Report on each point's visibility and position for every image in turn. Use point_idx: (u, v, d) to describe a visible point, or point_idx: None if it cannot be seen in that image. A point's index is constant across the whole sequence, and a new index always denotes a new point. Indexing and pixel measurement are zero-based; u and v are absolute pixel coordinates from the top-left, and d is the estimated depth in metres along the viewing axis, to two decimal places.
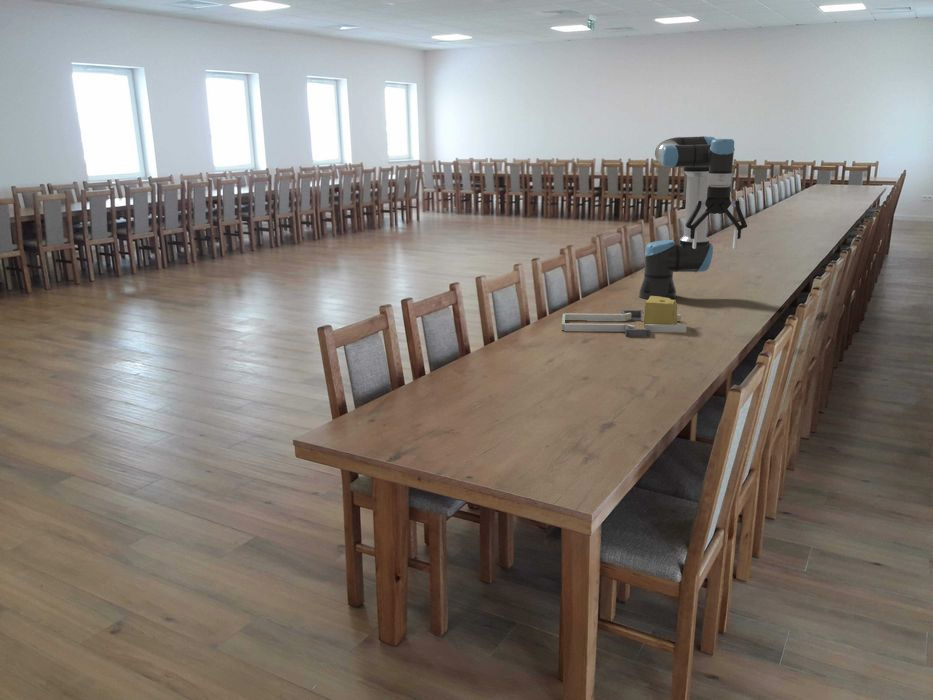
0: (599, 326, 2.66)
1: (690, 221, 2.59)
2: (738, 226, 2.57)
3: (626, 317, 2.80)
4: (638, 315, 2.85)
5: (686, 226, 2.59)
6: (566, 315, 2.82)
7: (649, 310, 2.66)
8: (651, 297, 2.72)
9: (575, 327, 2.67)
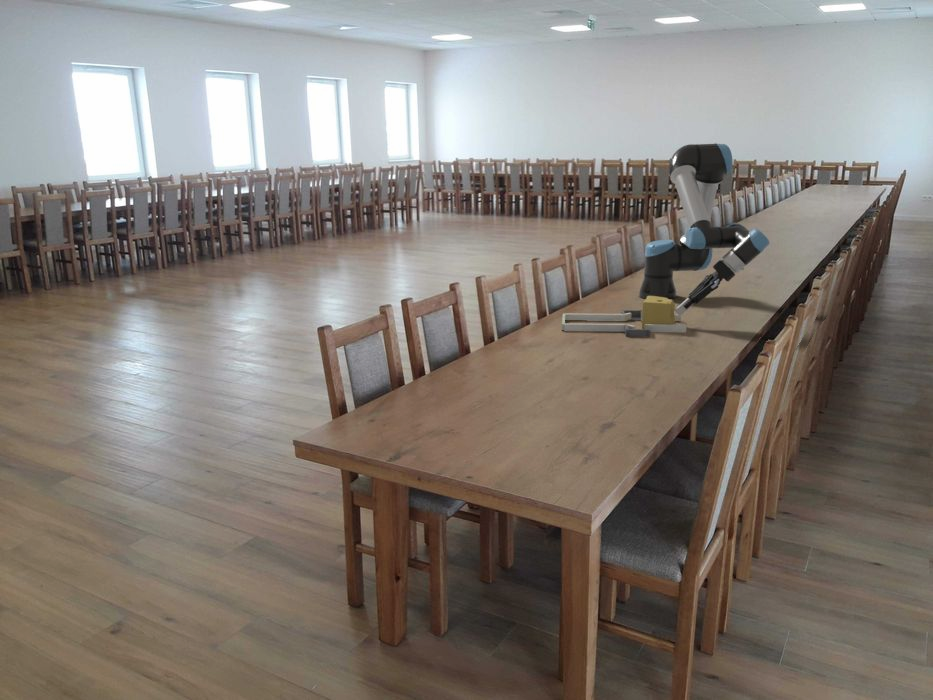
0: (599, 326, 2.66)
1: None
2: None
3: (626, 317, 2.80)
4: (638, 315, 2.85)
5: (696, 303, 2.64)
6: (566, 315, 2.82)
7: (647, 310, 2.66)
8: (648, 297, 2.72)
9: (575, 327, 2.67)
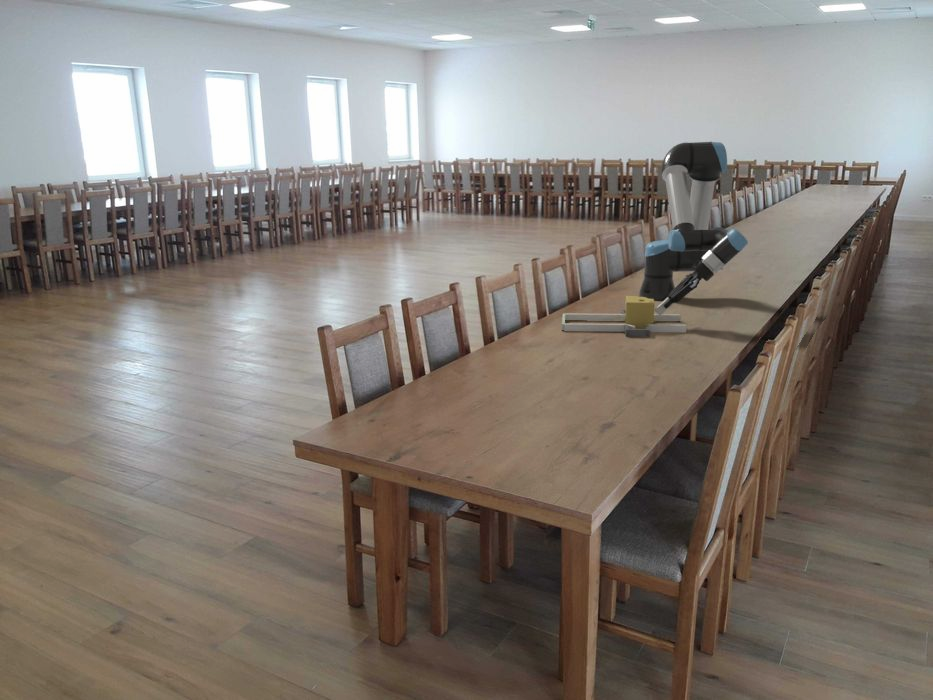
0: (599, 326, 2.66)
1: None
2: None
3: None
4: None
5: (676, 302, 2.66)
6: (566, 315, 2.82)
7: (631, 310, 2.66)
8: (628, 297, 2.73)
9: (575, 327, 2.67)
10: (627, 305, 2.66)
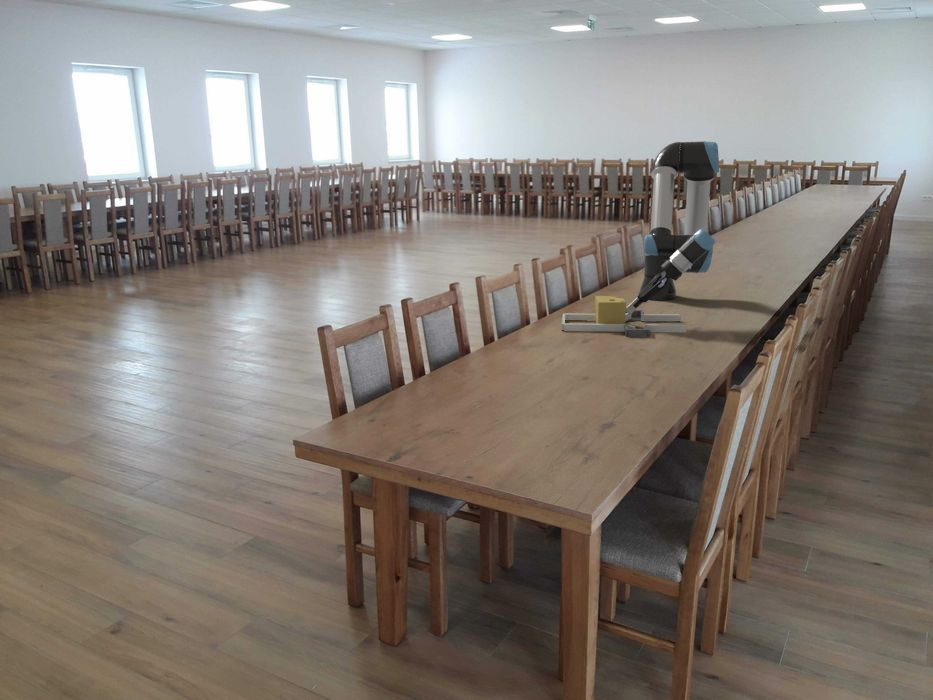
0: (599, 326, 2.66)
1: None
2: None
3: (626, 317, 2.80)
4: (638, 315, 2.85)
5: (645, 302, 2.68)
6: (566, 315, 2.82)
7: (603, 310, 2.67)
8: (598, 297, 2.74)
9: (575, 327, 2.67)
10: (599, 305, 2.67)
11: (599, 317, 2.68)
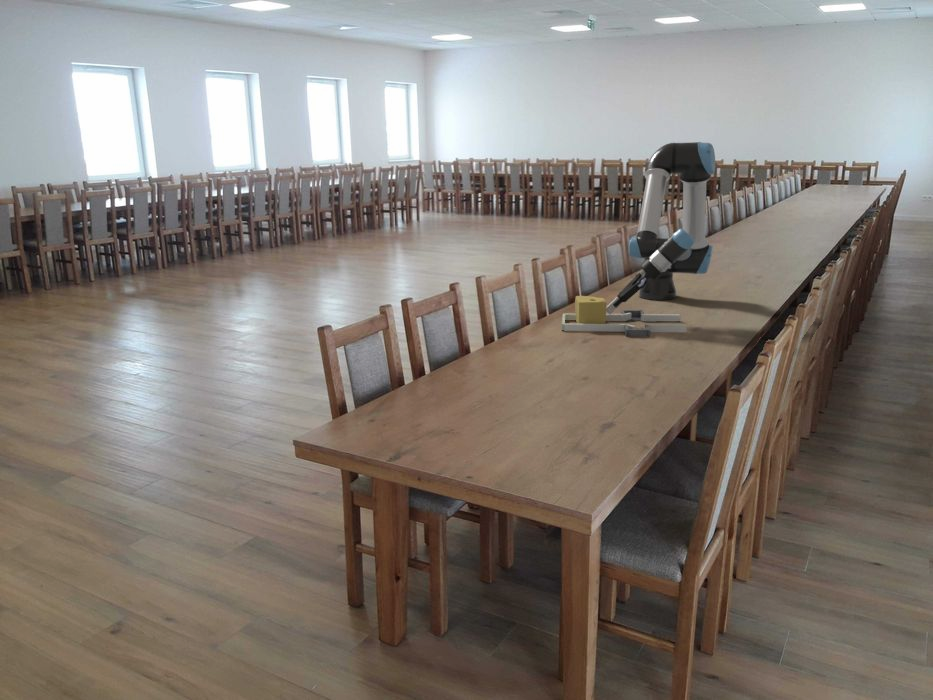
0: (599, 326, 2.66)
1: None
2: None
3: (626, 317, 2.80)
4: (638, 315, 2.85)
5: None
6: (566, 315, 2.82)
7: (583, 310, 2.68)
8: (578, 297, 2.75)
9: (575, 327, 2.67)
10: (580, 305, 2.68)
11: (580, 317, 2.69)
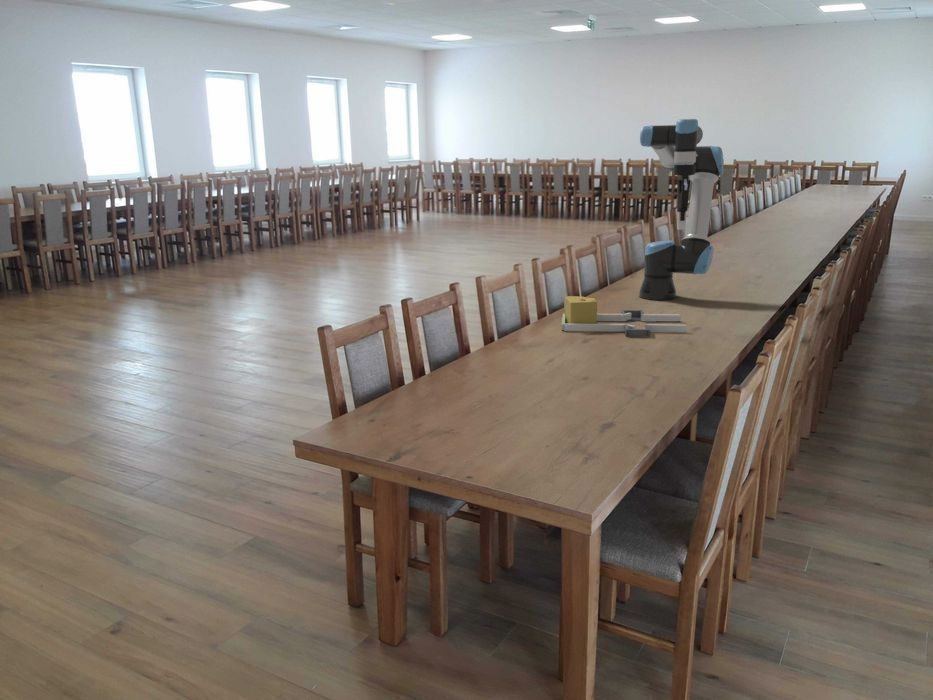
0: (599, 326, 2.66)
1: None
2: None
3: (626, 317, 2.80)
4: (638, 315, 2.85)
5: None
6: None
7: (575, 310, 2.69)
8: (568, 297, 2.75)
9: (575, 327, 2.67)
10: (571, 305, 2.68)
11: (571, 317, 2.69)
